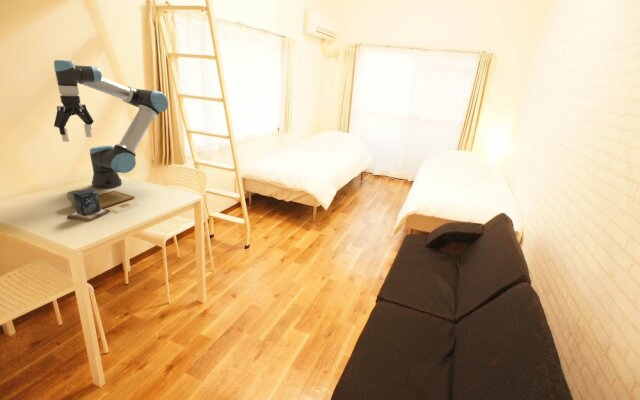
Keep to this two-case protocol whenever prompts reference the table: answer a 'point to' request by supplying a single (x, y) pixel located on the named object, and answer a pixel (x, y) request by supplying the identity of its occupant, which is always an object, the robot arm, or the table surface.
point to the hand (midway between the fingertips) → (77, 139)
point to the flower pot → (72, 196)
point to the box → (86, 202)
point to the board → (89, 216)
